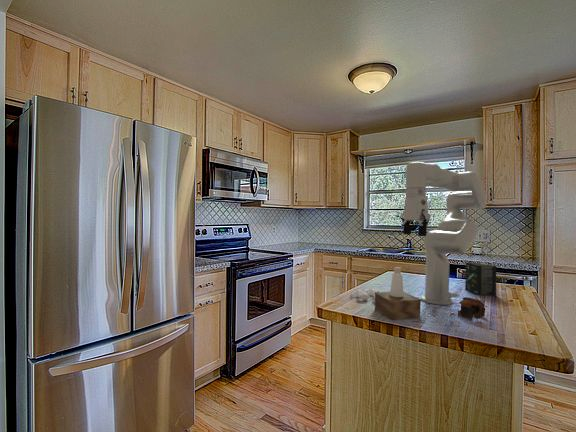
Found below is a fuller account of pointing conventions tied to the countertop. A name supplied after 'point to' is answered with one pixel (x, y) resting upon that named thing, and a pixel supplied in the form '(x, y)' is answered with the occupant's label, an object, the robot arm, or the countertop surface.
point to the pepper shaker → (397, 283)
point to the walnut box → (397, 306)
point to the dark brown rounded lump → (471, 308)
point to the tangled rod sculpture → (365, 294)
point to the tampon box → (480, 278)
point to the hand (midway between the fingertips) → (414, 235)
